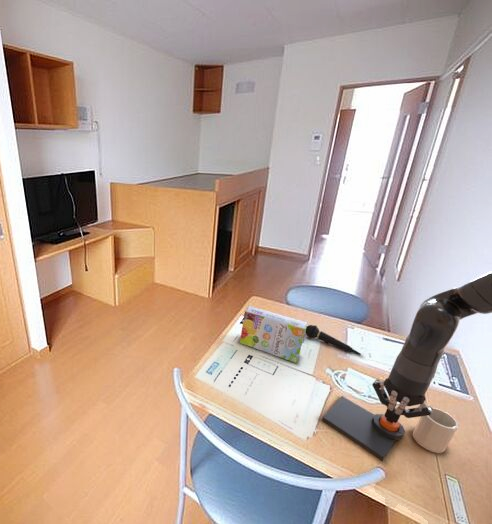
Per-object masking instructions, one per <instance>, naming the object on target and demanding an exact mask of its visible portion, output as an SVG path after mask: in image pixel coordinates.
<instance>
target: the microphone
mask: <svg viewBox="0 0 492 524" xmlns="http://www.w3.org/2000/svg"><path fill="white" fill-rule="evenodd" d="M305 335H306V336H307V337H308V338H309V339H317V340H319V341H322V342H323V343H325V344H327V345H331V346H334V347H336V348H339V349H341V350H343V351H345V352H347V353H353V354H354V355H358V356H361V355H362V353H360V352H359V351H357V350H355V349H354V348H353V347H351V346H350V345H348V344H346V343H345V342H342V341H341V340H339V339H337V338H335V337H333V336H331V335H329V334H327V333H326V332H324V331H321V330H320V328H319V327H318V326H317V325H313V324H308V325H307V327H306V331H305Z"/></svg>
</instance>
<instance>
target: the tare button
mask: <svg viewBox="0 0 492 524" xmlns="http://www.w3.org/2000/svg"><path fill="white" fill-rule="evenodd" d="M386 419H387V418H386V417H385V414H384V415H382V417H381V419H380V424H381V425H382V426H383V427H384V428H385V429H387V430H389V431H392V432H396V431H397V430H398V428H399V426H400V424H401V423H400V421H399V420H398V421H397V422H396V423H394V422H393V423H391V422H389V421H387V420H386ZM399 423H400V424H399Z"/></svg>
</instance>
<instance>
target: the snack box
mask: <svg viewBox="0 0 492 524" xmlns="http://www.w3.org/2000/svg"><path fill="white" fill-rule="evenodd" d="M307 326H308V322H307V321H303V320H300V319H296V318H293V317H289V316H286V315H283V314H279V313H276V312H272V311H269V310H265V309H261V308H259V307H258V308H257V307H255V306H251V305H248V306H247V307H246V309H245V310H244V313H243V319H242V327H241V333H240V339H239V344H242V345H245V346H247V347H251V348H254V349H256V350H259V351H262V352H264V353H268V354H270V355H273V356H275V357H278V358H281V359H284V360H286V361H290V362H292V363H295V364H298V361H299V358H300V356H301V355H300V354H301V350H302V348H303V347H302V346H303V342H304V338H305V335H306V333H305V331H306V327H307Z"/></svg>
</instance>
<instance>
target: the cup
mask: <svg viewBox="0 0 492 524" xmlns="http://www.w3.org/2000/svg"><path fill="white" fill-rule="evenodd" d="M431 407H432V408H433V410H432V412H431V414H430V415H428V416H420V417H419V419H418V422H417V423H416V425H415V428H414V430H413V432H412V437H413V439H414V441H415V442H416V443H417V444H418V445H420V446H421V447H422V448H423V449H425V450H427V451H429V452H432V453H436V454H442V453H444V452H445V451H446V449H447V448H448V446H449V444H450V442H451V441H452V439H453V437H454V435H455V434H456V432H457V430H458V428H459V422H458V420H456V418H455V417H454V416H452V415H451V414H449V413H448V412H446V411H445V410H443V409H440V408H437V407H433V406H431Z"/></svg>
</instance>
